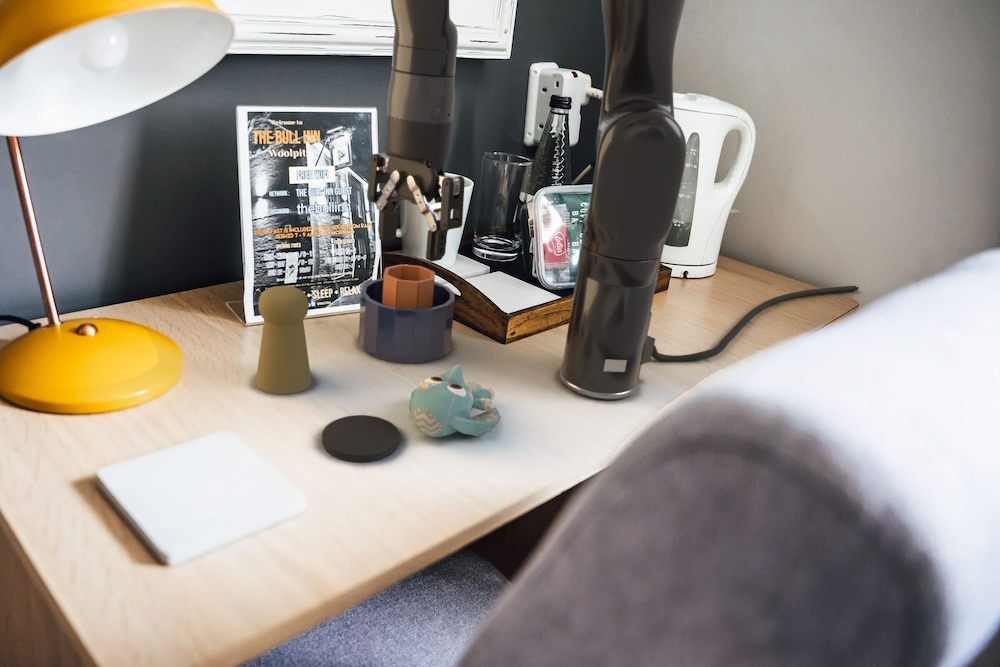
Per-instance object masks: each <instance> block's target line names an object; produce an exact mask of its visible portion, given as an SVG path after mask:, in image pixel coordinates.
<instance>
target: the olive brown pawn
mask: <svg viewBox="0 0 1000 667" xmlns="http://www.w3.org/2000/svg"><path fill="white" fill-rule="evenodd" d="M309 307H310V306H309V299H308V296H307V295H306V293H305V292H304V290H302V289H299V288H298V287H294V286H290V285H289V286H288V285H277V286H271V287H269V288H267V289H265V290H263V291H262V292H261V294H260V296H259V299H258V312H259V315H260V317H262V319H263V325H262V332H261V340H260V347H259V353H258V354H259V355H258V362H257V370H256V377H255V385H256V386H257V388H258V389H259V390H261V391H263V392H264V393H265V392H266V393H268V394H273V395H291V394H296V393H300V392H302V391H305V390H307V389H308V388H309V387H310V386H311V384H312V376H311V368H310V360H309V353H308V346H307V339H306V331H305V324H304V323H305V322H304V319H305V318H306V316H307V315H308V312H309Z"/></svg>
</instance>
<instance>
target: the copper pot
mask: <svg viewBox="0 0 1000 667" xmlns="http://www.w3.org/2000/svg"><path fill="white" fill-rule="evenodd" d="M435 276H436V272H435V271H434V270H431V269H429V268H427V267H424V266H422V265H414V264H413V265H412V264H401V263H400V264H397V265H392V266H388V267H385V268H384V272H383V277H382V278H383V298H382V304H384V305H388V306H392V307H396V308H407V309H424V308H432V304H433V292H434V281H435V279H436V277H435Z"/></svg>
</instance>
